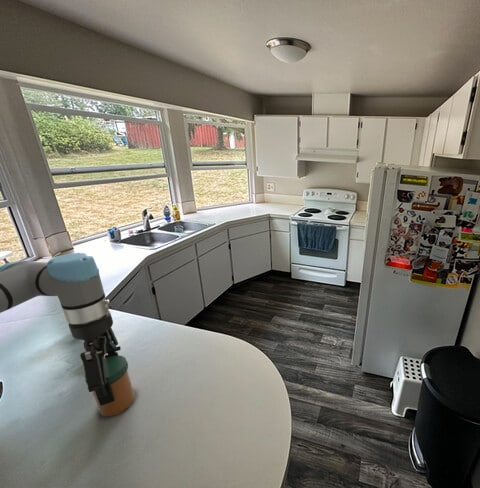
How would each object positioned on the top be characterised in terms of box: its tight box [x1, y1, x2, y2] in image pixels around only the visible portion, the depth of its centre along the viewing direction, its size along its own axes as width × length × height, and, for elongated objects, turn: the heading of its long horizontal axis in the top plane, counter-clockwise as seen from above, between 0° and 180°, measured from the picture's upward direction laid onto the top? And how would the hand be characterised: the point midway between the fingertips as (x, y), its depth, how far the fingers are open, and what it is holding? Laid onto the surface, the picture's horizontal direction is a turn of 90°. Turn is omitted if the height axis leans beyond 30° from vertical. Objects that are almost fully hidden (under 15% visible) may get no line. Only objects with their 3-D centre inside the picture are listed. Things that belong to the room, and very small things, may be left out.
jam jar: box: [91, 369, 136, 417], centre depth 67 cm, size 8×8×12 cm
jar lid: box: [84, 355, 129, 386], centre depth 65 cm, size 8×8×2 cm
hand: (112, 386), depth 67 cm, fingers open, 10 cm apart
